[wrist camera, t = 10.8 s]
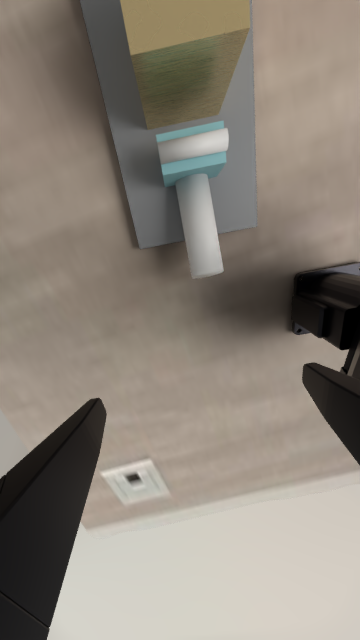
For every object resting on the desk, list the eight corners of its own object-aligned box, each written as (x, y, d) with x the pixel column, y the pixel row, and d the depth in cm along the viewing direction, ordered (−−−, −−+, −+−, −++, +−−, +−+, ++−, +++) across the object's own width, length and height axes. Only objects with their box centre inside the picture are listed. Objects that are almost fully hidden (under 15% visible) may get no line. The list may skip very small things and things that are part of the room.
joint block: (209, 4, 12) (243, -209, 6) (218, 114, 14) (250, 27, 8) (128, 24, 12) (88, -166, 6) (147, 130, 14) (130, 55, 8)
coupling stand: (234, -348, 9) (310, -1083, 4) (254, 262, 18) (282, 269, 14) (15, -281, 9) (-164, -873, 4) (149, 281, 19) (141, 295, 14)
